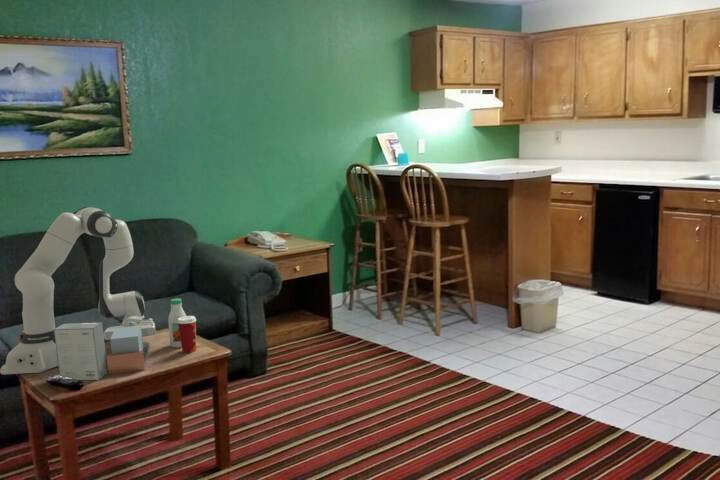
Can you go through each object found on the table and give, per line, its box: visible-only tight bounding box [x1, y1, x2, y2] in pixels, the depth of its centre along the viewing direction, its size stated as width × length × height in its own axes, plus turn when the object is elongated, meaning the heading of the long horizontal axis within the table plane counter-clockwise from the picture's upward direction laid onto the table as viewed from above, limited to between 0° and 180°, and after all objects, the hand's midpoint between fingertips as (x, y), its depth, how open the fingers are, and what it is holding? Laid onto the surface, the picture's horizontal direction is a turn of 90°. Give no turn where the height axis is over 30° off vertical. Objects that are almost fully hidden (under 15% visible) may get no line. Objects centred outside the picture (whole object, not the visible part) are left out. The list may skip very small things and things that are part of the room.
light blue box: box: [110, 326, 144, 354], centre depth 257 cm, size 10×14×9 cm
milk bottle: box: [167, 297, 187, 348], centre depth 276 cm, size 8×8×20 cm
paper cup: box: [177, 315, 197, 354], centre depth 268 cm, size 8×8×14 cm
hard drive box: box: [54, 322, 108, 381], centre depth 243 cm, size 16×8×20 cm, turn 84°
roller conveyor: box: [106, 341, 150, 375], centre depth 261 cm, size 13×28×7 cm, turn 14°
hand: (128, 337), depth 263 cm, fingers closed, pressing on light blue box
